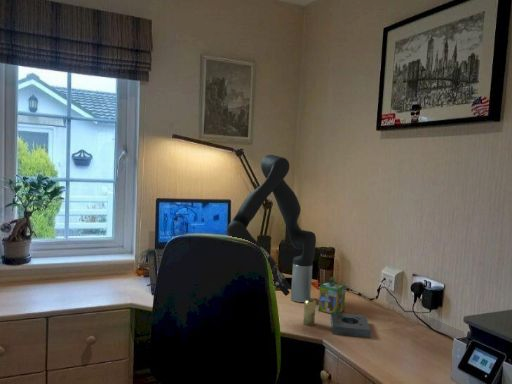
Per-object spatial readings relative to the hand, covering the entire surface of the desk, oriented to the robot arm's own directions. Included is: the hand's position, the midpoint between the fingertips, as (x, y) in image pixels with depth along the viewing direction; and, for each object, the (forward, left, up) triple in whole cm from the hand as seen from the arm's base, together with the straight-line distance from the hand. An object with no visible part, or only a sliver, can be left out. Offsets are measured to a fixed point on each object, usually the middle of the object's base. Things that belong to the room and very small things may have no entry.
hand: (288, 291), depth 167 cm
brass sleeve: (0, +9, -13) cm, 15 cm away
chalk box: (-19, +19, -13) cm, 30 cm away
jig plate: (0, +25, -13) cm, 28 cm away
